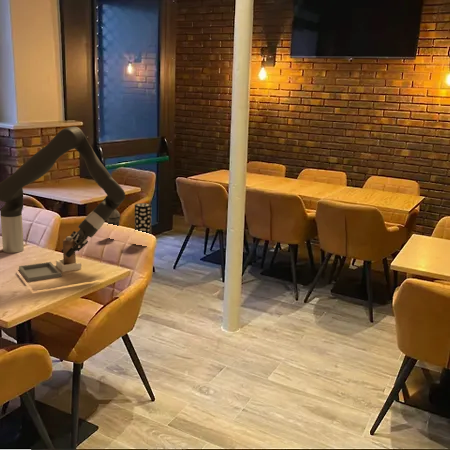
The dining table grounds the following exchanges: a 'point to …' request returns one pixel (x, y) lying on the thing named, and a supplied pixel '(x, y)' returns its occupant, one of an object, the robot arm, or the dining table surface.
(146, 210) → the spotted tube
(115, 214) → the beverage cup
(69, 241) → the pepper mill
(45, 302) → the dining table surface
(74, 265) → the caddy slot
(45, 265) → the serving tray
